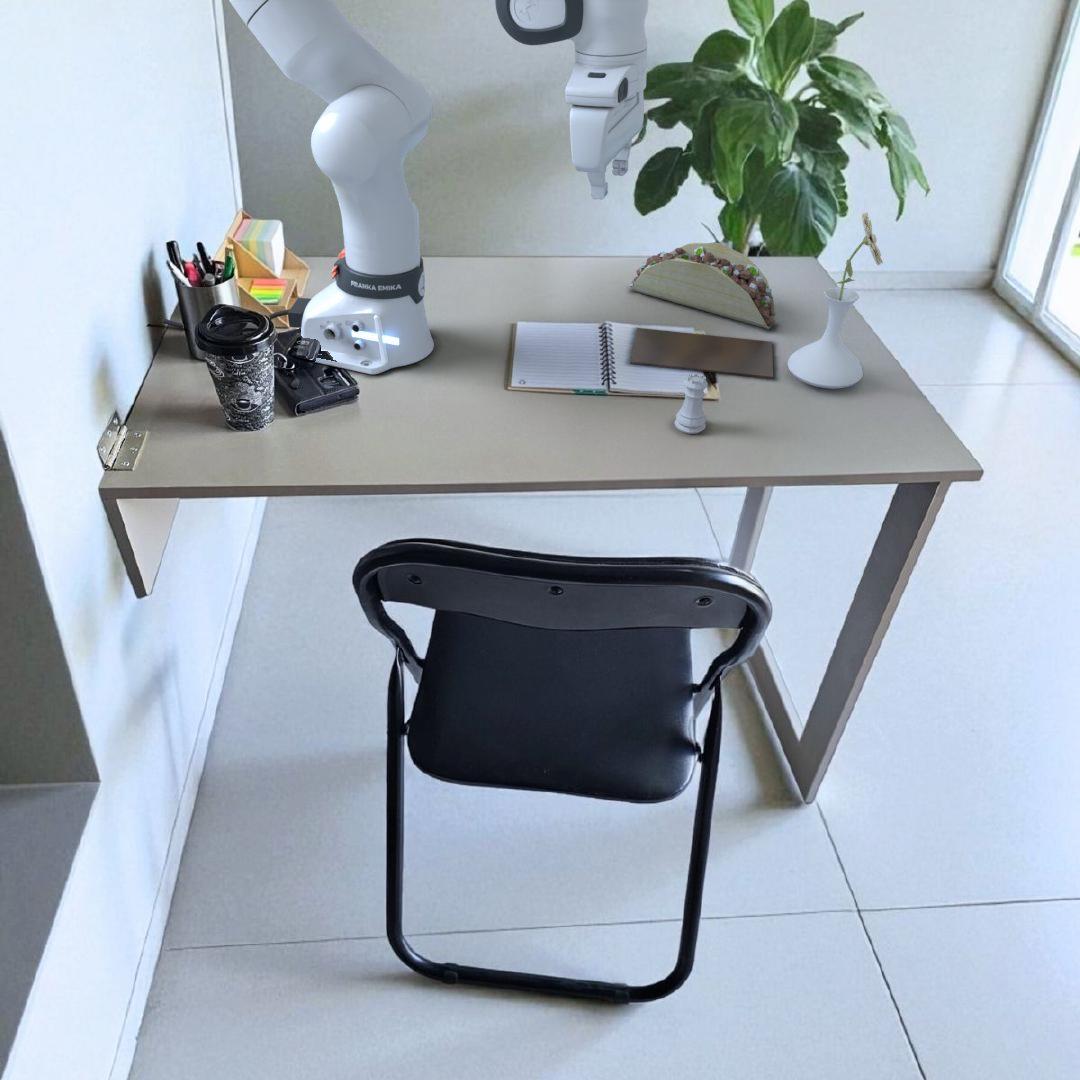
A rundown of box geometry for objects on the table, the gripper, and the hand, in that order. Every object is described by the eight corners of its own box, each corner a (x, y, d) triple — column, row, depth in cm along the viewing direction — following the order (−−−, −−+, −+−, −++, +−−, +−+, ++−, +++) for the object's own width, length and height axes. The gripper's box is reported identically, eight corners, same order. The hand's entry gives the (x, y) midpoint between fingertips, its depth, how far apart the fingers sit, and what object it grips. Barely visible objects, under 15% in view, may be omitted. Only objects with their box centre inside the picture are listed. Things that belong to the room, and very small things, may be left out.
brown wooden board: (630, 363, 163) (630, 361, 162) (636, 329, 172) (637, 327, 172) (772, 379, 160) (773, 376, 160) (771, 343, 170) (771, 341, 169)
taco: (762, 339, 171) (773, 280, 165) (618, 297, 182) (623, 241, 175) (784, 318, 178) (795, 261, 171) (643, 279, 188) (649, 224, 182)
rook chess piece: (704, 437, 146) (711, 387, 141) (672, 432, 147) (679, 382, 142) (706, 421, 150) (714, 371, 145) (675, 417, 150) (682, 367, 145)
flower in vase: (845, 403, 155) (886, 241, 140) (774, 381, 160) (805, 221, 144) (873, 369, 164) (914, 213, 149) (804, 349, 169) (837, 196, 153)
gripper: (610, 52, 137) (609, 159, 146) (560, 93, 122) (562, 209, 130) (657, 54, 135) (653, 162, 144) (611, 96, 120) (611, 214, 129)
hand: (610, 185), depth 137 cm, fingers open, 8 cm apart
